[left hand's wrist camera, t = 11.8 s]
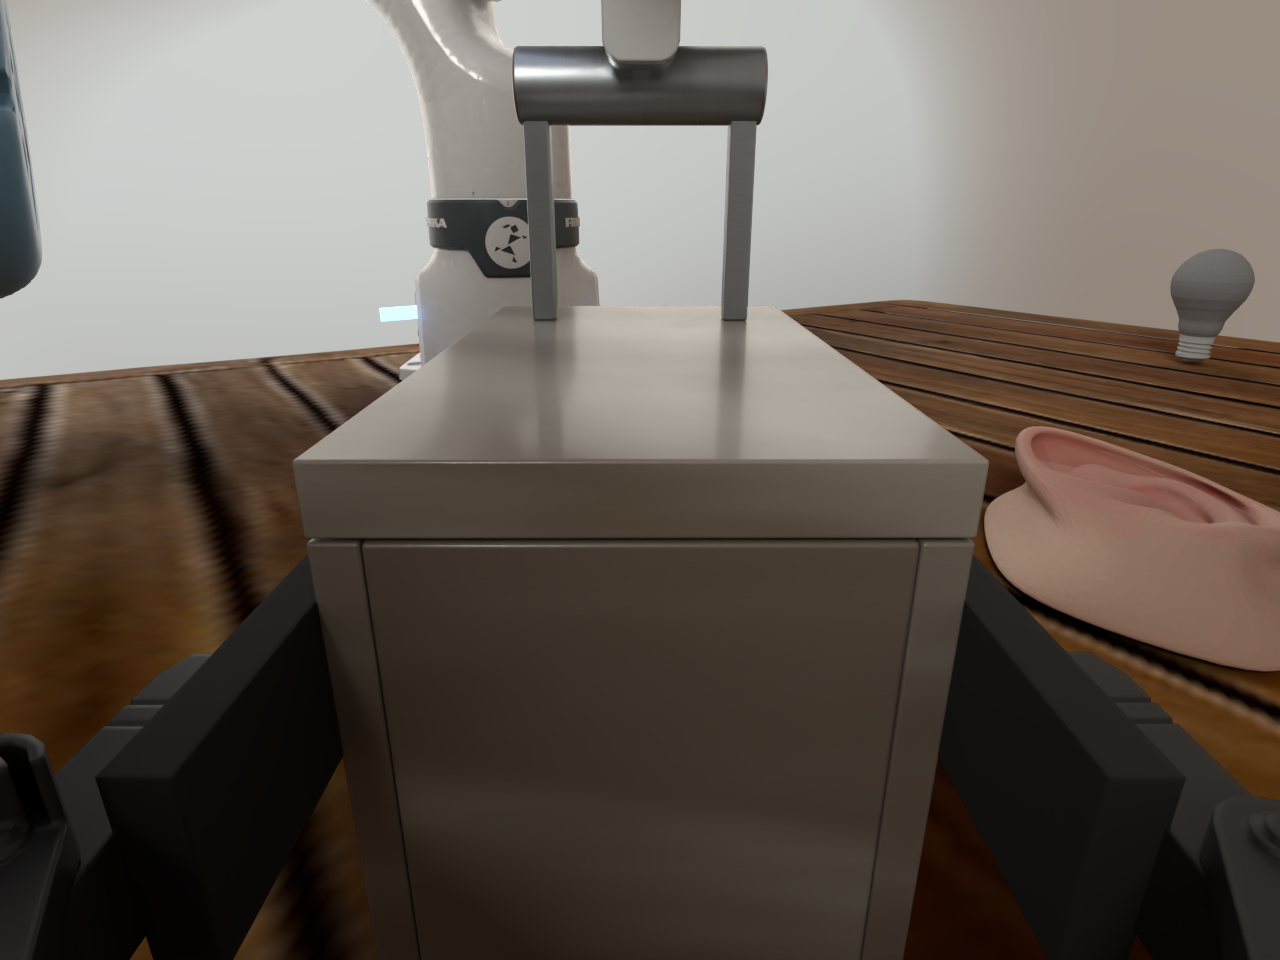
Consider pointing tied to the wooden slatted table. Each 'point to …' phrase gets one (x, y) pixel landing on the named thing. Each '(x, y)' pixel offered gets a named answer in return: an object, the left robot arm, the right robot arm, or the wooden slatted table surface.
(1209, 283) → the light bulb
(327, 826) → the wooden slatted table surface
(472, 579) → the chest
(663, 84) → the lid
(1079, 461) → the anatomical model
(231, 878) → the left robot arm
